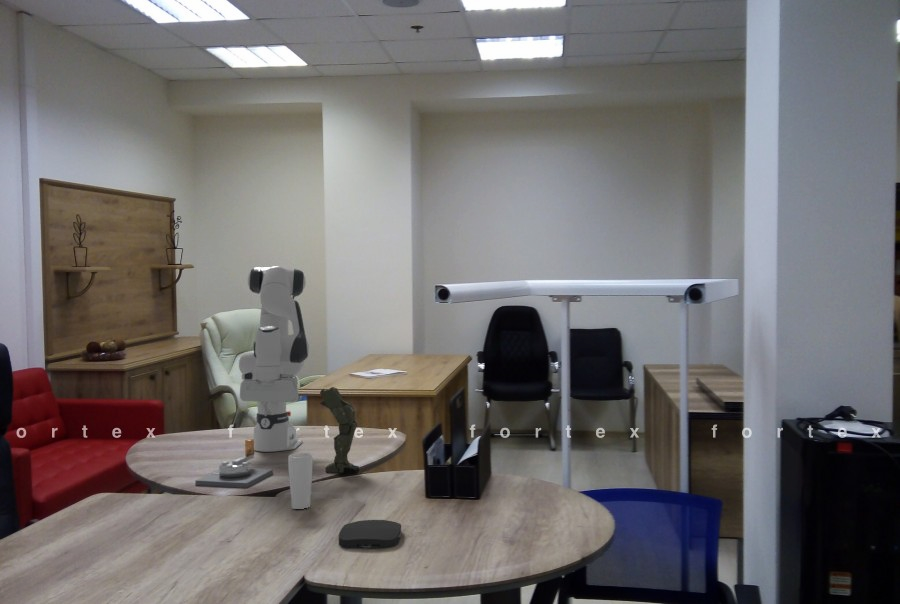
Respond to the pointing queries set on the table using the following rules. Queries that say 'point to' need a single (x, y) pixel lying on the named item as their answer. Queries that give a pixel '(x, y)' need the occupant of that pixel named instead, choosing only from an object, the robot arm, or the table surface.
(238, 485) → the housing plate
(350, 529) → the media streaming box
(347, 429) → the mechanical leg
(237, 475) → the lever
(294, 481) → the drinking glass
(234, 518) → the table surface
